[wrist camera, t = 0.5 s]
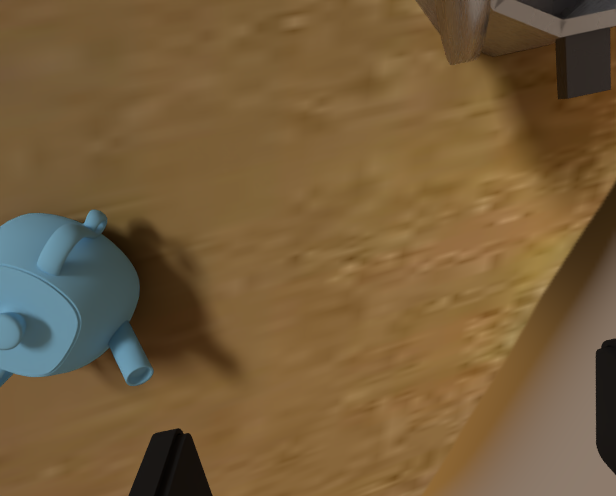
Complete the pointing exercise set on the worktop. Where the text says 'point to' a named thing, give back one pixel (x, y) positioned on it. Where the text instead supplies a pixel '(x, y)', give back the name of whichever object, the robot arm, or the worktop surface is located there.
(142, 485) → the robot arm
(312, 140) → the worktop surface
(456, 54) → the lid
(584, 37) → the pot
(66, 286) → the teapot
